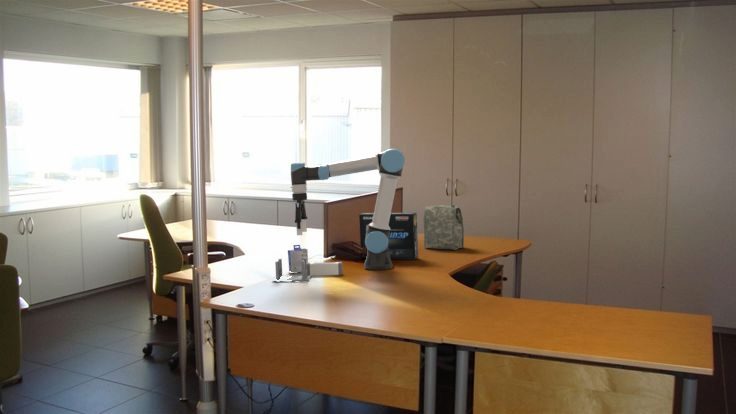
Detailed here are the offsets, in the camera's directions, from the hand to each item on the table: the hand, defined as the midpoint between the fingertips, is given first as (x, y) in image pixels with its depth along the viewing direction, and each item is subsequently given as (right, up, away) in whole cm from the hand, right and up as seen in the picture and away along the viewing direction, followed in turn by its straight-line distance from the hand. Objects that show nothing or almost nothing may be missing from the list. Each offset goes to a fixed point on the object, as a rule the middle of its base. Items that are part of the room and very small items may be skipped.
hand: (301, 233), depth 355 cm
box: (+47, -16, +42) cm, 65 cm away
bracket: (-4, -23, -11) cm, 26 cm away
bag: (+82, -12, +74) cm, 111 cm away
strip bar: (+12, -21, 0) cm, 24 cm away
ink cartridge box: (-2, -21, +9) cm, 23 cm away
